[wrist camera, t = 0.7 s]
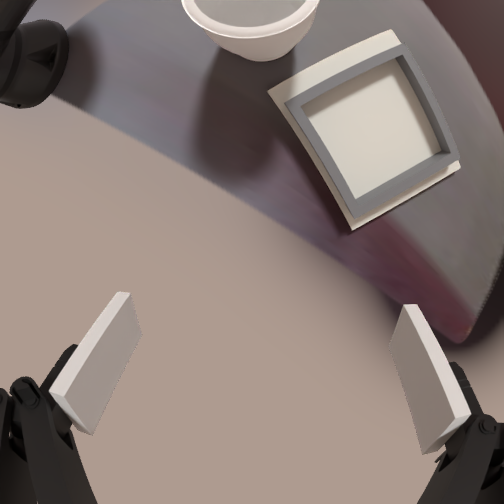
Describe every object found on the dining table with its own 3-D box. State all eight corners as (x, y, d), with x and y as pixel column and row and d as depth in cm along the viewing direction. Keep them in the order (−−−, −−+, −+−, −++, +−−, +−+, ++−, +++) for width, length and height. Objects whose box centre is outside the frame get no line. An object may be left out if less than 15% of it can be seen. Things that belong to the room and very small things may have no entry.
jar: (241, 83, 31) (215, 62, 17) (204, 19, 27) (159, -29, 14) (322, 50, 28) (349, 9, 15) (282, -14, 24) (281, -78, 11)
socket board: (267, 92, 31) (265, 89, 28) (388, 31, 26) (398, 24, 22) (350, 227, 37) (356, 238, 34) (456, 166, 32) (470, 171, 29)
